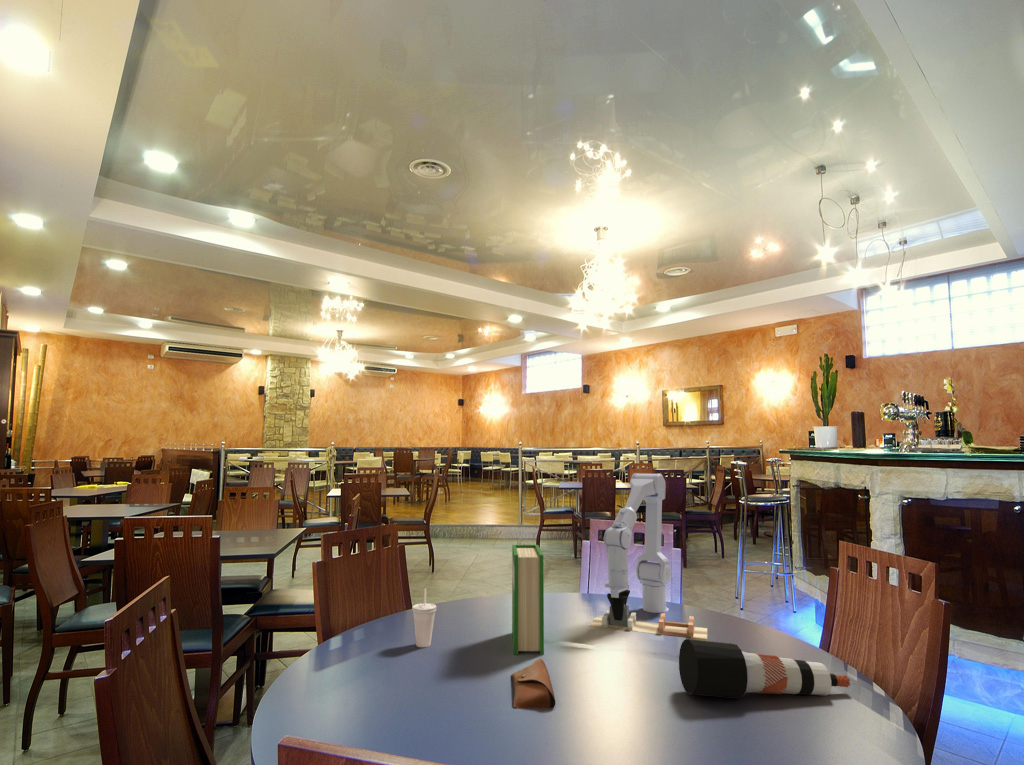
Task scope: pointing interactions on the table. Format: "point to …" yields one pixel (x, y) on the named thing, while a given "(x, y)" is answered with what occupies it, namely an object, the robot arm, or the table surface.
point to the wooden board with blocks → (655, 626)
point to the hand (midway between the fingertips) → (619, 618)
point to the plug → (624, 619)
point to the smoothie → (423, 622)
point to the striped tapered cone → (749, 672)
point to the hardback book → (527, 599)
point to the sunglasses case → (533, 687)
